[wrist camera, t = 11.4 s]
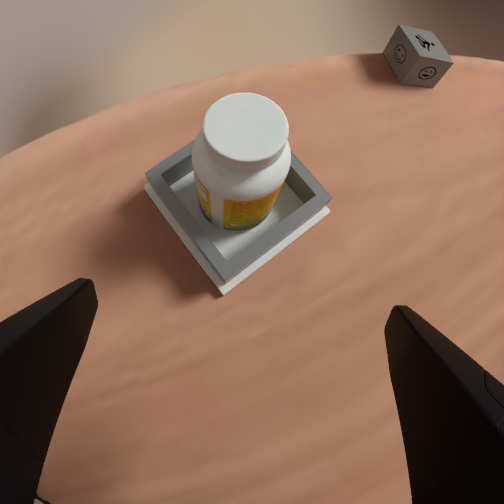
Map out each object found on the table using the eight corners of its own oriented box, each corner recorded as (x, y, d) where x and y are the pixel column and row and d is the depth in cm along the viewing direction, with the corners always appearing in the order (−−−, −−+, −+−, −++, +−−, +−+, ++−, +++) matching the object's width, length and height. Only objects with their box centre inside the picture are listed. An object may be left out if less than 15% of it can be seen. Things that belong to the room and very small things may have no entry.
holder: (223, 295, 22) (223, 291, 19) (144, 189, 23) (135, 172, 20) (328, 213, 24) (342, 199, 21) (247, 123, 25) (250, 100, 22)
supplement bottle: (184, 211, 23) (162, 141, 13) (223, 154, 24) (225, 67, 15) (250, 248, 23) (269, 196, 13) (285, 187, 24) (320, 112, 14)
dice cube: (382, 53, 29) (398, 24, 25) (414, 57, 30) (432, 32, 25) (400, 84, 28) (420, 55, 24) (432, 88, 29) (453, 63, 24)
